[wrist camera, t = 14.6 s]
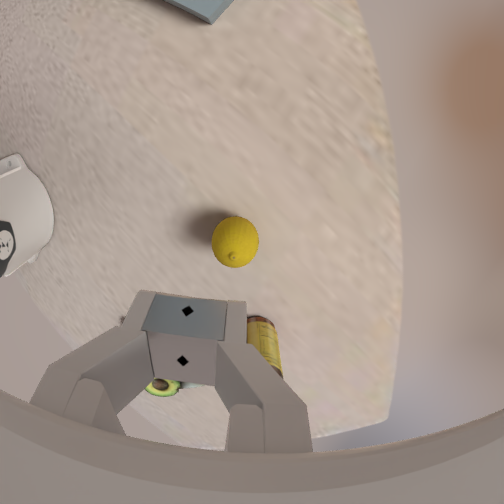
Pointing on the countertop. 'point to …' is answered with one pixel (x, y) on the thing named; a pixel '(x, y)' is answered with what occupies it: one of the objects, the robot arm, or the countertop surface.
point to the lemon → (235, 242)
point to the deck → (203, 8)
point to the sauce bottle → (265, 341)
